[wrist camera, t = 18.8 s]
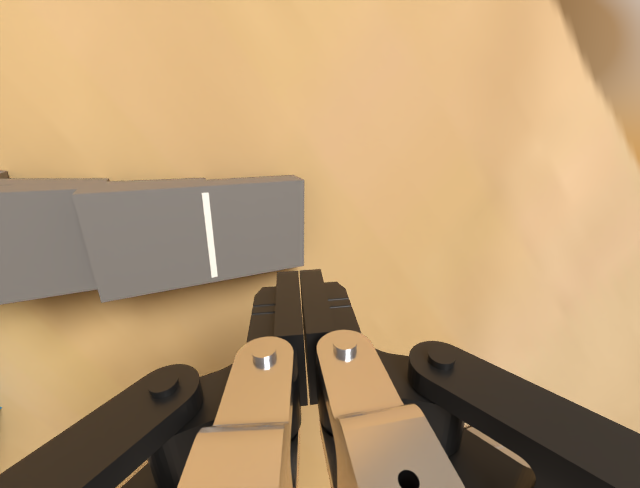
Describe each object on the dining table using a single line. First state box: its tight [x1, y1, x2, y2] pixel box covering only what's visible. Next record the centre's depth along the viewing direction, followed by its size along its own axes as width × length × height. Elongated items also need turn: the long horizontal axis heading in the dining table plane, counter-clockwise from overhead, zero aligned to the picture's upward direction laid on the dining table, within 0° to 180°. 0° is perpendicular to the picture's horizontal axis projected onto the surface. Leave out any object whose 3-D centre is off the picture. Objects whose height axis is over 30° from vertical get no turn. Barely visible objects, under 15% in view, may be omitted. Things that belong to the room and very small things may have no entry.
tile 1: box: [72, 175, 304, 303], centre depth 16 cm, size 5×2×10 cm
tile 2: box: [0, 178, 206, 305], centre depth 16 cm, size 5×2×10 cm
